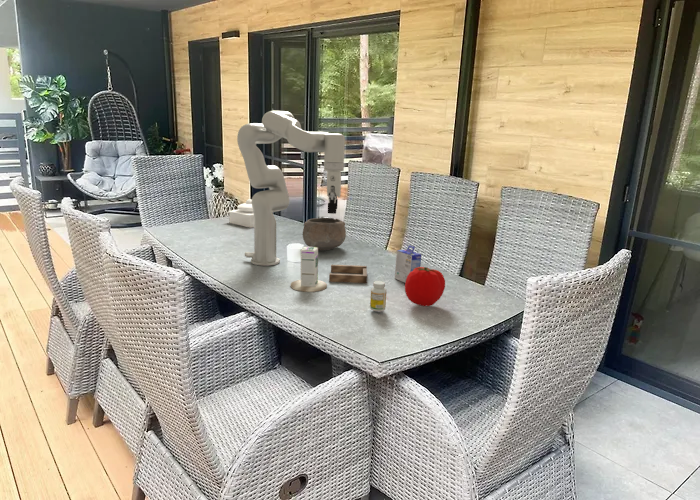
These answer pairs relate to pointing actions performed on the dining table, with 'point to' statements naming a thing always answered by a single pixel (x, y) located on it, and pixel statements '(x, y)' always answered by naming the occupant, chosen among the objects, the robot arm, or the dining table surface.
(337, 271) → the shelf rack
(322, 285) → the pad
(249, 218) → the butter dish
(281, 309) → the dining table surface
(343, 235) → the clay pot
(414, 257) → the ink cartridge box
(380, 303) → the supplement bottle
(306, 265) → the syrup box
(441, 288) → the tomato
